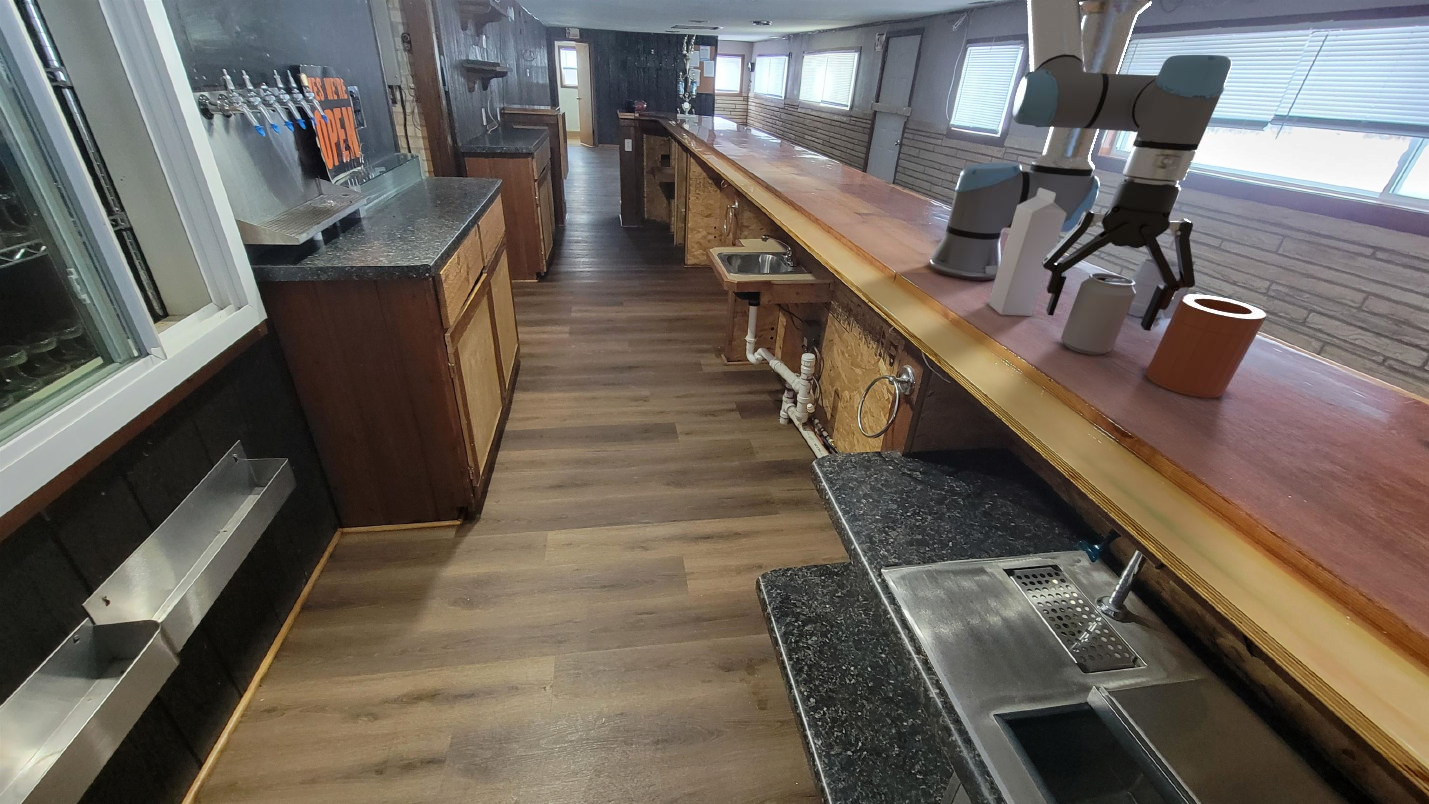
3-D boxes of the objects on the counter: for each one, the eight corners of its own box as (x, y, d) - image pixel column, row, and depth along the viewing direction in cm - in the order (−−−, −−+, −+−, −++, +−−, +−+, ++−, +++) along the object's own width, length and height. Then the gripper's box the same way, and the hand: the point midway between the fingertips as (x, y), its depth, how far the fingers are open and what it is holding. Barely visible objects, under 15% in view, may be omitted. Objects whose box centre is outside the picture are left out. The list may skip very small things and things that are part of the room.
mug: (1143, 305, 114) (1169, 246, 108) (1190, 327, 104) (1221, 264, 98) (1108, 305, 114) (1132, 245, 108) (1151, 327, 104) (1181, 263, 98)
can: (1067, 334, 99) (1092, 267, 93) (1115, 348, 94) (1145, 278, 88) (1052, 346, 94) (1078, 276, 88) (1102, 361, 89) (1133, 288, 83)
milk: (1000, 315, 106) (1038, 192, 95) (987, 304, 111) (1021, 186, 100) (1032, 316, 106) (1073, 194, 95) (1017, 305, 111) (1055, 187, 100)
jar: (1139, 364, 89) (1173, 290, 83) (1210, 376, 86) (1250, 301, 80) (1154, 389, 81) (1192, 310, 75) (1232, 403, 78) (1279, 323, 72)
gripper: (1057, 175, 82) (1013, 314, 92) (1268, 193, 74) (1195, 342, 84) (1051, 170, 88) (1011, 300, 98) (1246, 186, 80) (1180, 326, 90)
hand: (1096, 320), depth 91 cm, fingers open, 13 cm apart
